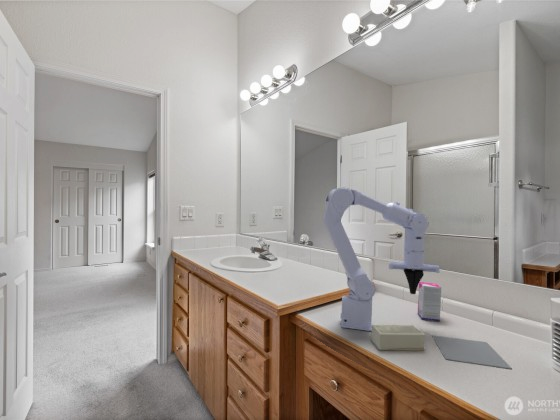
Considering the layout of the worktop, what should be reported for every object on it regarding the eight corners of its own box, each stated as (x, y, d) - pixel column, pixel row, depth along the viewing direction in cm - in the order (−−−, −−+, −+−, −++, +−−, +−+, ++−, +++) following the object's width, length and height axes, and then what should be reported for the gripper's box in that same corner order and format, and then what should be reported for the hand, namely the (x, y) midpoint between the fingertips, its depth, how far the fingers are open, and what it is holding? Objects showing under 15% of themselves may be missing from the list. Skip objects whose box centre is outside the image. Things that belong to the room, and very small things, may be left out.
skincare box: (413, 340, 82) (370, 340, 82) (413, 324, 82) (371, 324, 82) (425, 351, 76) (379, 351, 75) (425, 334, 76) (379, 334, 75)
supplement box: (440, 321, 97) (441, 287, 96) (421, 319, 98) (422, 285, 98) (435, 315, 102) (436, 282, 102) (417, 313, 103) (418, 281, 103)
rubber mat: (445, 359, 72) (445, 358, 72) (431, 335, 85) (431, 335, 85) (512, 369, 68) (512, 368, 68) (486, 342, 82) (486, 342, 82)
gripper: (390, 250, 90) (389, 294, 90) (442, 253, 86) (441, 299, 86) (388, 247, 97) (387, 288, 97) (436, 250, 93) (435, 292, 93)
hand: (412, 293), depth 92 cm, fingers closed
